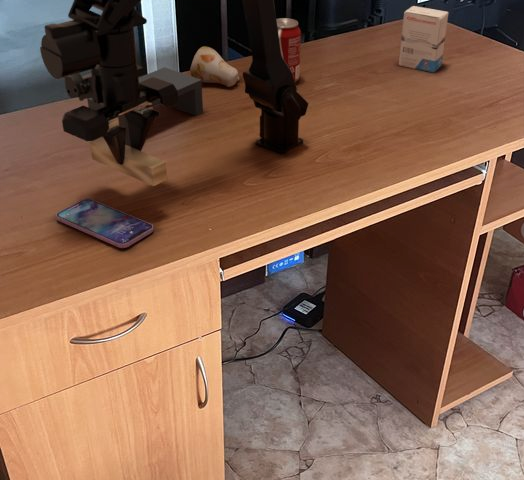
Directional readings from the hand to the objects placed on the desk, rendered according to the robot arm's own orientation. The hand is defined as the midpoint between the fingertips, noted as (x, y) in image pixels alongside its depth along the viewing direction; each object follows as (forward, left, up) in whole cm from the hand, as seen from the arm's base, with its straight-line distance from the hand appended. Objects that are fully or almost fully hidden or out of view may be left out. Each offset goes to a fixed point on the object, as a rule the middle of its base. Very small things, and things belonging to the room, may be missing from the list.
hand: (128, 160), depth 123 cm
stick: (0, 0, -2) cm, 2 cm away
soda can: (+13, -56, -8) cm, 58 cm away
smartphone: (-2, +8, -8) cm, 11 cm away
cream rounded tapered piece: (+23, -46, -8) cm, 52 cm away
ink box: (-5, -82, -8) cm, 83 cm away
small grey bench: (+20, -23, -8) cm, 31 cm away
